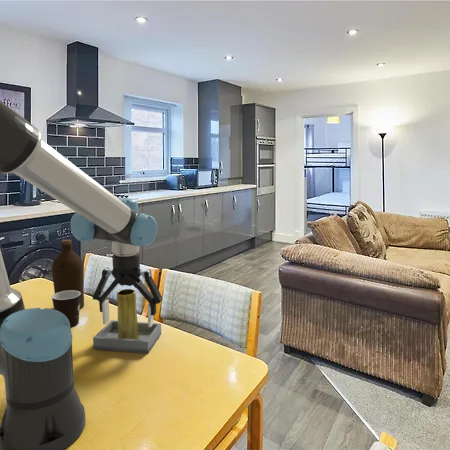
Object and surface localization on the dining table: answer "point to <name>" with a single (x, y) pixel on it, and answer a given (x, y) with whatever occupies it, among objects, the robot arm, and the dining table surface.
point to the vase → (127, 314)
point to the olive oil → (68, 271)
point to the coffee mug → (68, 305)
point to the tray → (111, 342)
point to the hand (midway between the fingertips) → (128, 323)
